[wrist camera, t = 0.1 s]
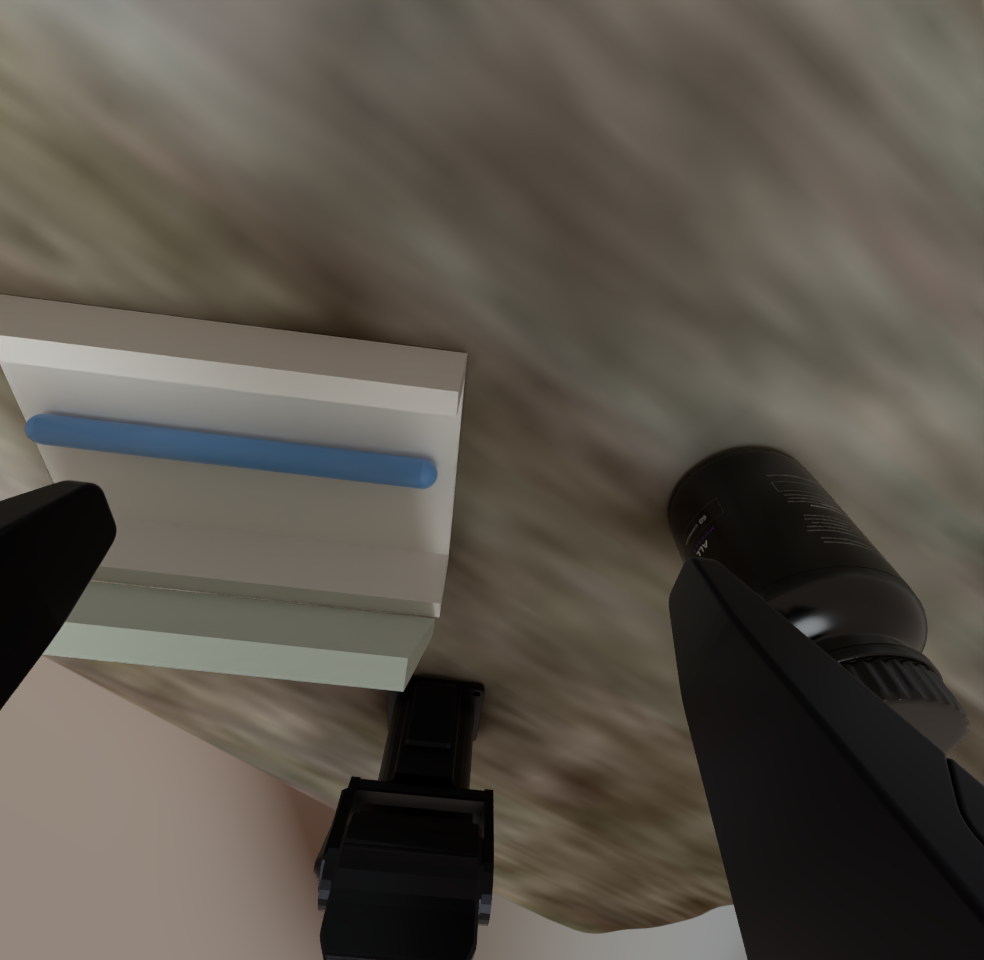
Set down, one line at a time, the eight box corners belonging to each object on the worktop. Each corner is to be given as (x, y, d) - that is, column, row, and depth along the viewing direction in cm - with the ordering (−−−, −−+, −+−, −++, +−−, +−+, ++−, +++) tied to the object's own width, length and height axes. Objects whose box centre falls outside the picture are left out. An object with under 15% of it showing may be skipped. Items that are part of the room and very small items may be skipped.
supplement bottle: (640, 492, 25) (724, 725, 15) (776, 417, 22) (989, 637, 12) (702, 573, 28) (807, 815, 18) (829, 515, 25) (1037, 758, 15)
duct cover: (435, 618, 25) (433, 634, 25) (31, 574, 24) (26, 590, 24) (408, 658, 13) (403, 691, 12) (-409, 572, 12) (-425, 605, 12)
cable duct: (448, 561, 28) (439, 617, 24) (82, 519, 27) (21, 572, 24) (467, 353, 21) (458, 392, 18) (-18, 292, 20) (-122, 320, 17)
